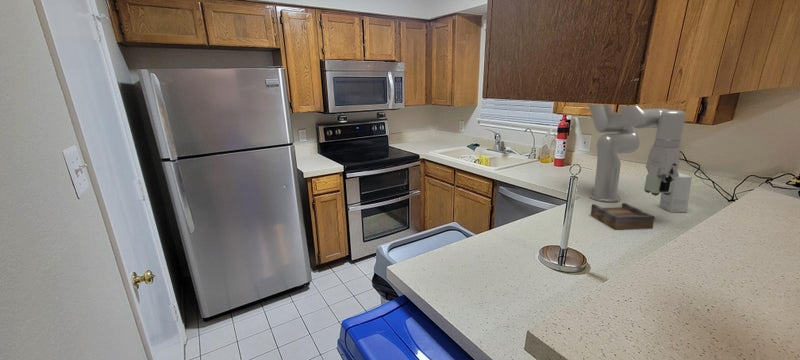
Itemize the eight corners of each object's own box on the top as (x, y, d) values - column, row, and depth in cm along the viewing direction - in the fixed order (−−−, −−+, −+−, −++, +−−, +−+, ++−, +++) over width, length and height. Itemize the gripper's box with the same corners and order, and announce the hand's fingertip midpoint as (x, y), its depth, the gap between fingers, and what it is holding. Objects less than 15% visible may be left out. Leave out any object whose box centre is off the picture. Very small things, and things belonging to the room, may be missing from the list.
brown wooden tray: (590, 215, 136) (591, 204, 135) (623, 213, 136) (625, 203, 135) (615, 229, 120) (617, 217, 119) (652, 228, 120) (654, 216, 119)
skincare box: (686, 212, 134) (693, 176, 130) (668, 212, 135) (675, 176, 132) (674, 206, 142) (680, 172, 138) (657, 206, 143) (663, 172, 140)
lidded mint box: (643, 192, 129) (648, 165, 126) (661, 191, 129) (666, 164, 126) (653, 195, 124) (658, 168, 121) (671, 195, 124) (676, 167, 121)
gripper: (640, 140, 129) (633, 183, 134) (675, 148, 113) (665, 196, 118) (659, 139, 129) (651, 182, 134) (697, 147, 113) (686, 195, 118)
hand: (658, 188), depth 126 cm, fingers closed on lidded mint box, 5 cm apart
